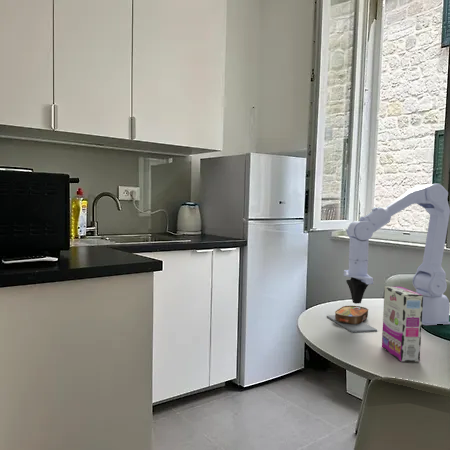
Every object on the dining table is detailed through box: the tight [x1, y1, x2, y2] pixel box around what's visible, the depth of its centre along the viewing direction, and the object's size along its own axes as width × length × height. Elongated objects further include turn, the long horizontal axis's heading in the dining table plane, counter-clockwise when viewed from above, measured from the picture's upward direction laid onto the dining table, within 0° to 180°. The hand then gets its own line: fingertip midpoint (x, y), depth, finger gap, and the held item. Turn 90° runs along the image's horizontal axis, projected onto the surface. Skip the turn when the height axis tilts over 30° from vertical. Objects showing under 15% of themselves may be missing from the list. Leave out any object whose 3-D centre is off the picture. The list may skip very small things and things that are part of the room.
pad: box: [326, 314, 378, 334], centre depth 136 cm, size 8×17×1 cm, turn 13°
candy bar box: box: [381, 286, 423, 363], centre depth 109 cm, size 11×5×16 cm, turn 5°
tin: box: [334, 305, 369, 324], centre depth 141 cm, size 15×3×8 cm
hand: (356, 303), depth 136 cm, fingers closed
